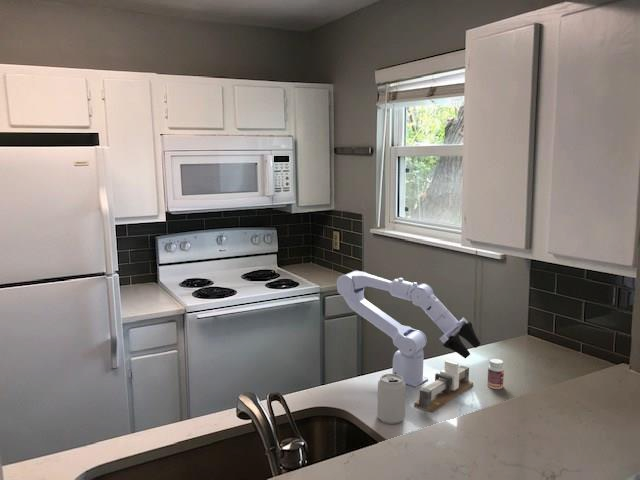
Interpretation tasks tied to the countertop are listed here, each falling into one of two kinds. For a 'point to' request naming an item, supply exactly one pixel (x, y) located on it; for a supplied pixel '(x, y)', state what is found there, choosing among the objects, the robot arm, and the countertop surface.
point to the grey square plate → (447, 382)
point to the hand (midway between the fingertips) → (473, 351)
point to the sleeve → (451, 373)
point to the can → (391, 398)
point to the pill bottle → (495, 374)
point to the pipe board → (434, 396)
